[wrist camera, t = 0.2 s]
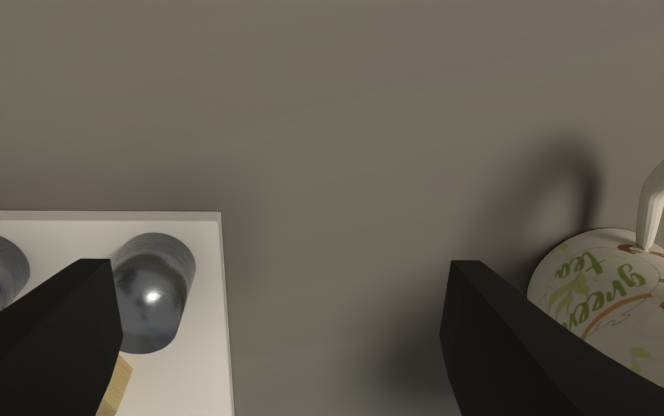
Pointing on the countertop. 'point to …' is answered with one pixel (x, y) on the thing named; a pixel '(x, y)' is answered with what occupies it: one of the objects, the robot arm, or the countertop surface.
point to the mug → (612, 287)
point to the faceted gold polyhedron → (115, 388)
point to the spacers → (129, 287)
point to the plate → (199, 313)
